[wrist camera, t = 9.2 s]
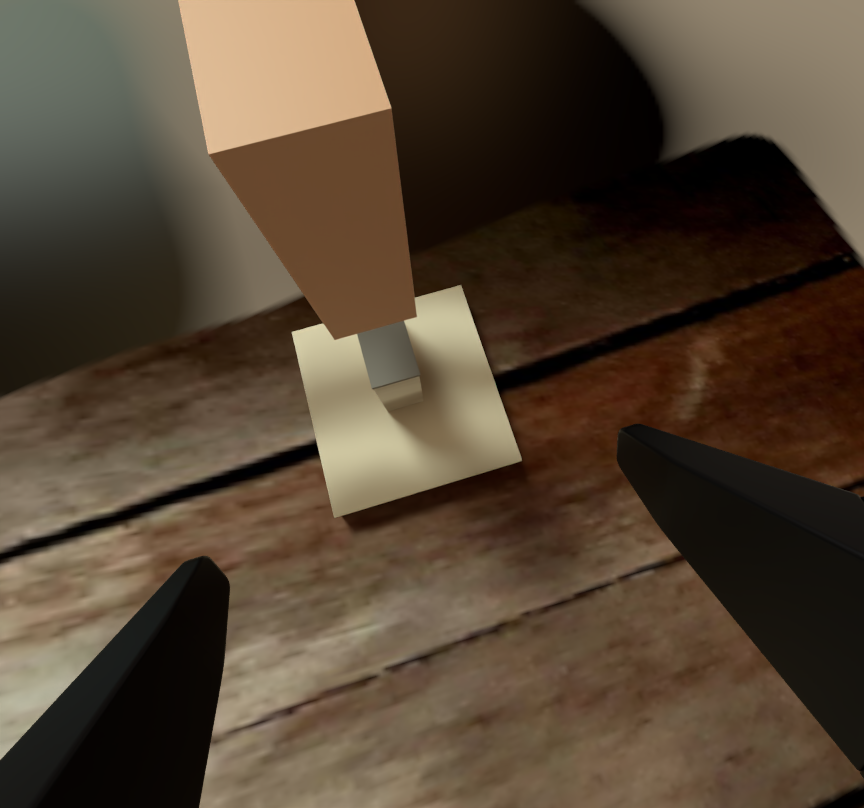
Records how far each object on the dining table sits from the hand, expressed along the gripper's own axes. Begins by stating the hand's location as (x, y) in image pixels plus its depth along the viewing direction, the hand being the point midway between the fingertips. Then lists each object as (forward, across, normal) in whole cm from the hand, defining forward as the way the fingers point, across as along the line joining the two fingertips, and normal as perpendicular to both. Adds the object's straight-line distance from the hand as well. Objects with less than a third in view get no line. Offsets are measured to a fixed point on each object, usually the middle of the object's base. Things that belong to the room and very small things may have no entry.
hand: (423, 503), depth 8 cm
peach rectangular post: (+6, 0, -4) cm, 8 cm away
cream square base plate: (+13, 0, +5) cm, 14 cm away
